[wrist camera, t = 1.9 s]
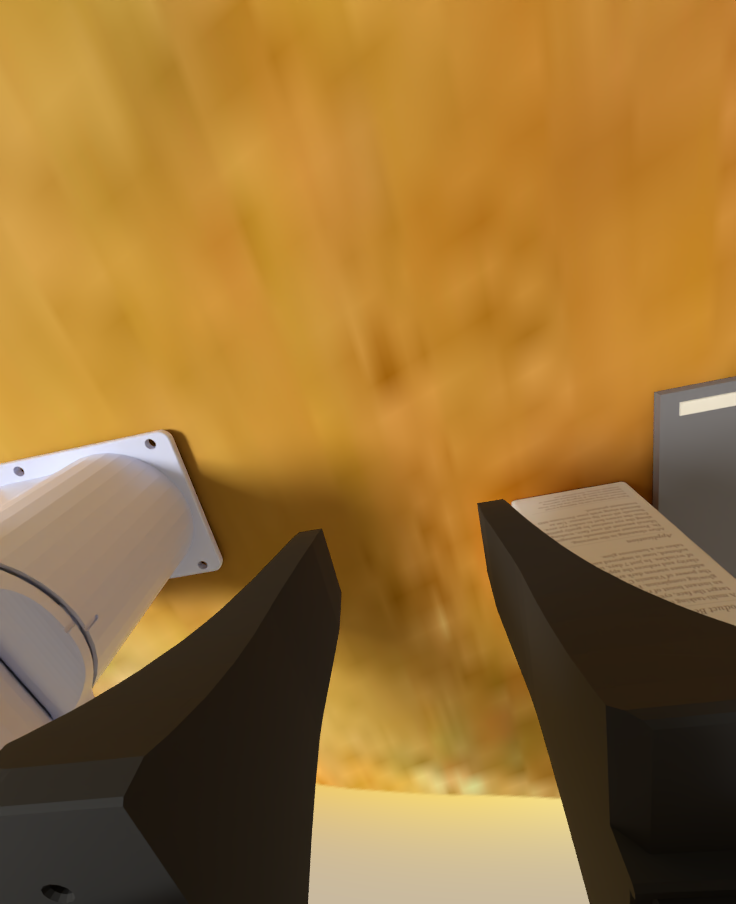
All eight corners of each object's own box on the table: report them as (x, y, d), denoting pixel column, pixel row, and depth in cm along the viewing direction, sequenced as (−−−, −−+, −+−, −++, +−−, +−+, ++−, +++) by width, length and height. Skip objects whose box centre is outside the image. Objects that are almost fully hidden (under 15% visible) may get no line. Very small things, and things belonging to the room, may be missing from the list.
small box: (627, 606, 24) (789, 830, 15) (523, 621, 25) (611, 845, 15) (626, 476, 21) (825, 647, 12) (508, 496, 22) (604, 675, 12)
